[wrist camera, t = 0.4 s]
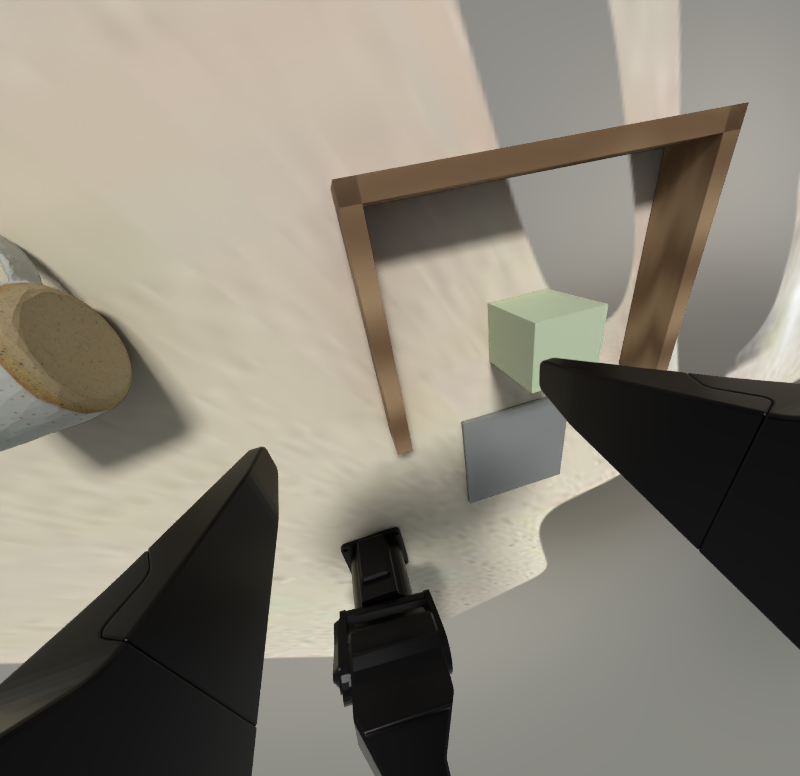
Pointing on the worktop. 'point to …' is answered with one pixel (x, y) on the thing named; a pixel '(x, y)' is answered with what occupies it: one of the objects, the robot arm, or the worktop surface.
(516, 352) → the sage block
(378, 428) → the worktop surface
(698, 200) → the brown open-sided frame
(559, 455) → the slate mat
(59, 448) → the worktop surface
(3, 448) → the ceramic mug
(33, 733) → the robot arm
